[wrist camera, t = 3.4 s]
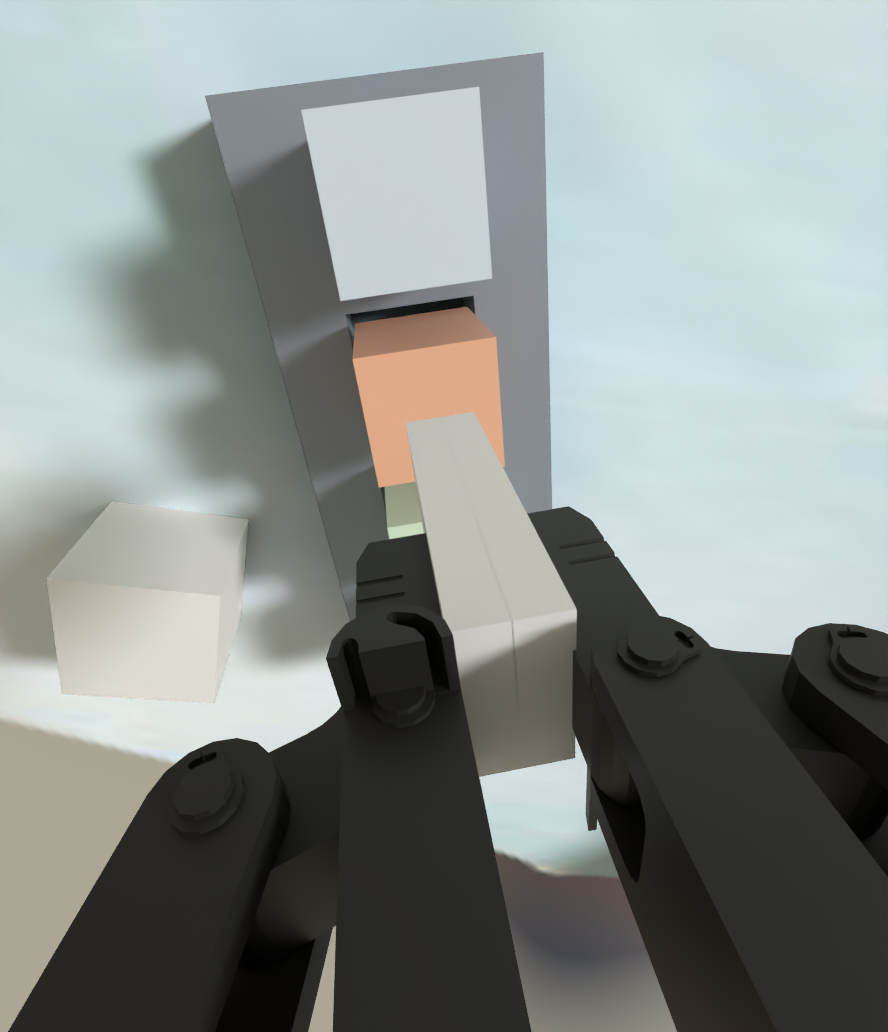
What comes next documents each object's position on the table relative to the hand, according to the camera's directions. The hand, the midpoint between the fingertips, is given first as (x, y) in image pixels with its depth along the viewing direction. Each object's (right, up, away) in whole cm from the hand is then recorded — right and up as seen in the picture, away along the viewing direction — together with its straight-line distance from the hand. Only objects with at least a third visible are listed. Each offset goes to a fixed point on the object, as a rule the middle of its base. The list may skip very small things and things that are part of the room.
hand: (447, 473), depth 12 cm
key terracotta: (-1, +4, +8) cm, 9 cm away
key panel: (-1, +4, +12) cm, 13 cm away
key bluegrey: (-2, +9, +5) cm, 11 cm away
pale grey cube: (-13, -3, +15) cm, 20 cm away
